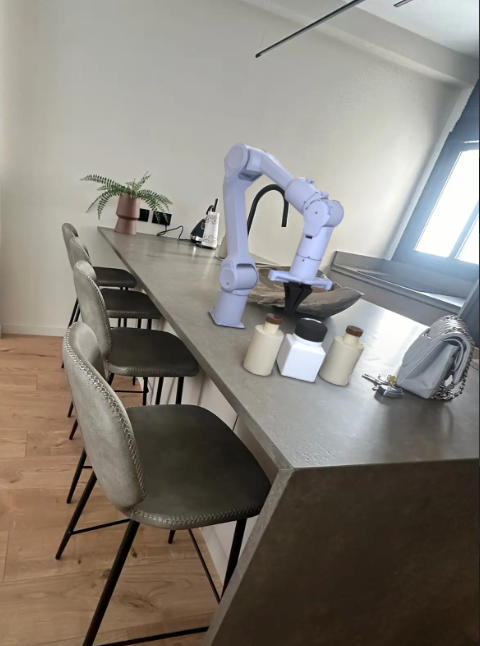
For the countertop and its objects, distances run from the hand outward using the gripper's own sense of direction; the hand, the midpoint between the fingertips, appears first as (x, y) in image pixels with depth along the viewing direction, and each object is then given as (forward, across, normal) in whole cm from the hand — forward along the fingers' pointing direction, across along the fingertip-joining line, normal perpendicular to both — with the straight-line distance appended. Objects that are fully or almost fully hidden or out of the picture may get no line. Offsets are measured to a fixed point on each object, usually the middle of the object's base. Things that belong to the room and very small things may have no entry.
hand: (287, 313), depth 88 cm
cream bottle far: (+9, +9, -12) cm, 18 cm away
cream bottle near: (+9, -9, -12) cm, 18 cm away
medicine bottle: (+10, 0, -11) cm, 15 cm away
